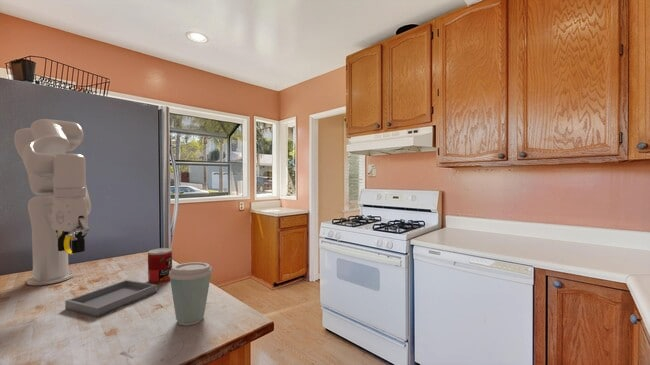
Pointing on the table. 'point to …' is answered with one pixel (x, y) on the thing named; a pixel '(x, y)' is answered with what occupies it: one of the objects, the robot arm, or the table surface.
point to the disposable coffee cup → (190, 291)
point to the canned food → (159, 265)
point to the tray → (110, 298)
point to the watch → (66, 244)
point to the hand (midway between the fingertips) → (71, 250)
